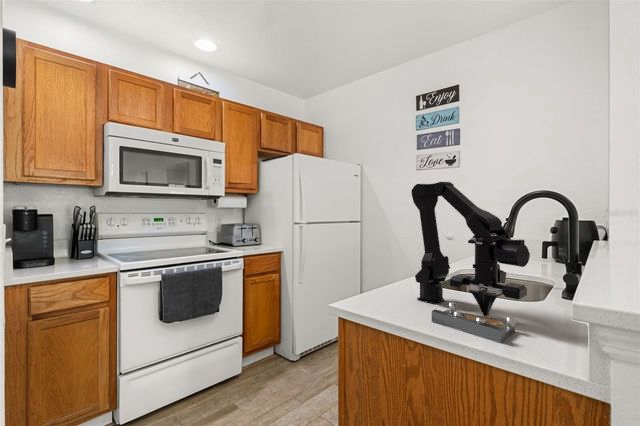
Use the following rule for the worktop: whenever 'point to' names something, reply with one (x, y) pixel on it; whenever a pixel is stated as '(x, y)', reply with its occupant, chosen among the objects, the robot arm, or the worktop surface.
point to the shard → (487, 320)
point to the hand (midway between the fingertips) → (485, 315)
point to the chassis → (473, 324)
